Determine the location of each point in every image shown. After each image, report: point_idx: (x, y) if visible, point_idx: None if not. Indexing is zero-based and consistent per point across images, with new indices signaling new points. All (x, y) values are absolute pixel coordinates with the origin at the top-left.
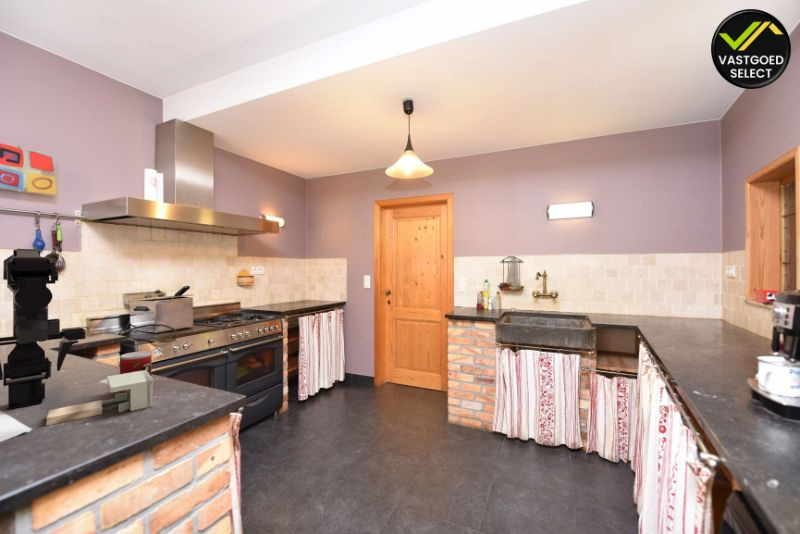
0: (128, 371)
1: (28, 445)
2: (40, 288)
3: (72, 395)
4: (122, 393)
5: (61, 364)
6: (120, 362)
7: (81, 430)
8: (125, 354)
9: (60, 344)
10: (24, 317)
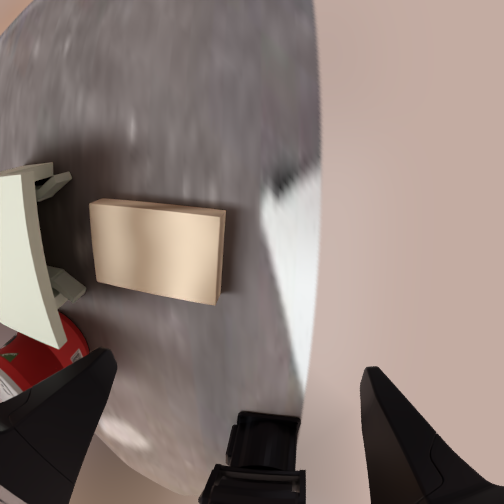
0: (33, 356)
1: (270, 55)
2: None
3: (184, 413)
4: (60, 288)
5: (73, 364)
6: None
7: (149, 79)
8: None
9: (35, 490)
10: None
